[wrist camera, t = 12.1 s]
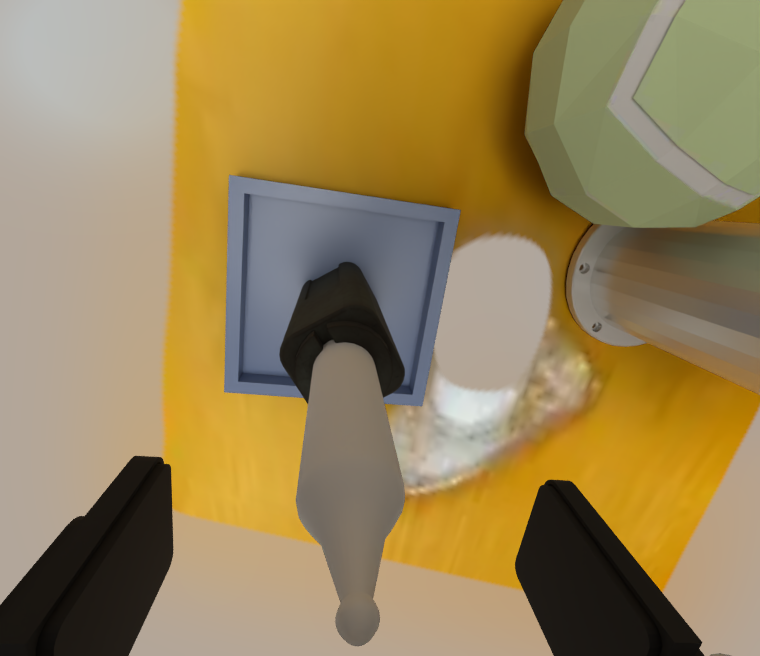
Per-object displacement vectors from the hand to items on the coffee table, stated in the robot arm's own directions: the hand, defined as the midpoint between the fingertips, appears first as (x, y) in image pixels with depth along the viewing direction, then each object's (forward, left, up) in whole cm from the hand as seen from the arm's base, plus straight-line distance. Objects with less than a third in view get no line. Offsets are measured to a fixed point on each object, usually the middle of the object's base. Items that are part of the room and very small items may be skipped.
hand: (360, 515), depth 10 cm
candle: (0, 0, -22) cm, 22 cm away
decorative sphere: (-17, -16, -23) cm, 32 cm away
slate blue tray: (0, 0, -23) cm, 23 cm away
